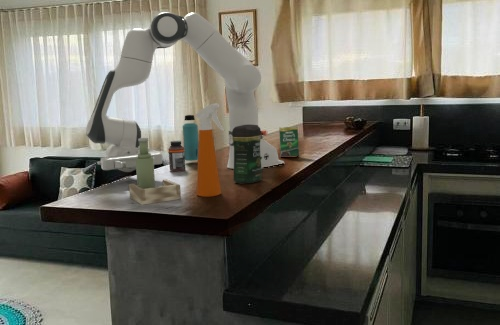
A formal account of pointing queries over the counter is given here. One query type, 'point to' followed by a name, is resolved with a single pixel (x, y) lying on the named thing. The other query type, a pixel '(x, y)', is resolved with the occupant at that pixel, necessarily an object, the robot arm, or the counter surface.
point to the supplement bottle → (176, 157)
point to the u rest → (155, 193)
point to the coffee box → (289, 141)
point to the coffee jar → (247, 154)
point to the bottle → (145, 166)
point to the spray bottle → (207, 153)
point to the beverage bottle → (190, 139)
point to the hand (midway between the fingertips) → (138, 163)
